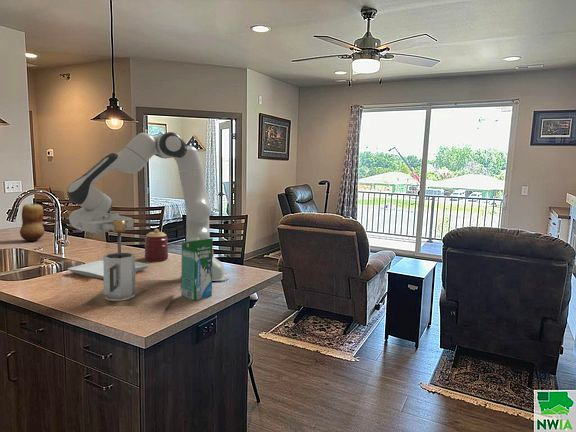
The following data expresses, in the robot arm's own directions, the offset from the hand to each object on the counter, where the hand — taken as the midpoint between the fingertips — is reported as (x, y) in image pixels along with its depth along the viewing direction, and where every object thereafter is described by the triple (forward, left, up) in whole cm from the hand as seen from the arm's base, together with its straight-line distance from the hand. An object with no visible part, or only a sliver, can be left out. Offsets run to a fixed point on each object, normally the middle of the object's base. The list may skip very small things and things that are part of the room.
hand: (120, 226), depth 151 cm
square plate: (+20, -42, -31) cm, 55 cm away
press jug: (+1, +1, -28) cm, 28 cm away
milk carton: (-28, -8, -30) cm, 42 cm away
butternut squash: (+97, -115, -30) cm, 153 cm away
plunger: (+1, -1, -22) cm, 22 cm away
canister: (+5, -72, -30) cm, 78 cm away
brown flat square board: (+1, -1, -30) cm, 30 cm away
